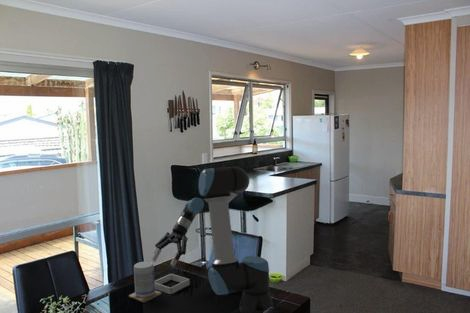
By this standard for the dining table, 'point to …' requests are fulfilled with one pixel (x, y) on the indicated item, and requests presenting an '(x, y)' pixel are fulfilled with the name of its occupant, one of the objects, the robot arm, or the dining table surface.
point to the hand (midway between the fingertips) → (162, 263)
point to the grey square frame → (183, 283)
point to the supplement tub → (144, 279)
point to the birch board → (144, 299)
